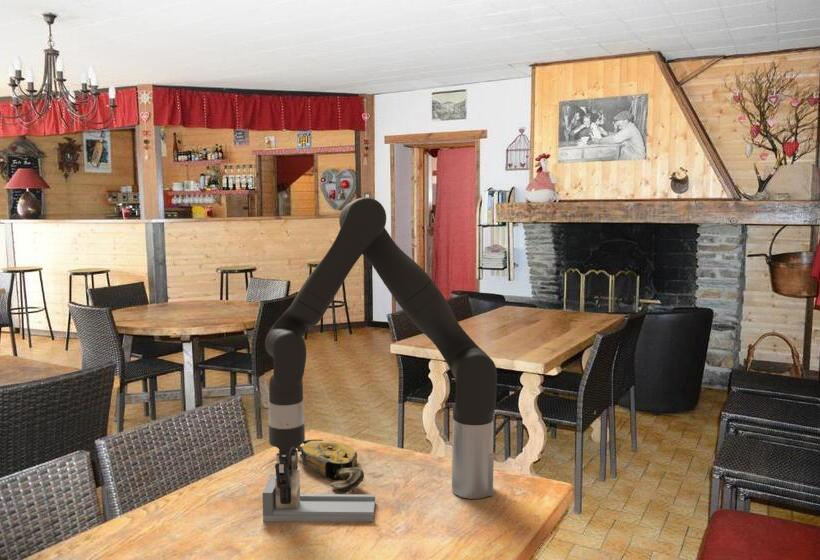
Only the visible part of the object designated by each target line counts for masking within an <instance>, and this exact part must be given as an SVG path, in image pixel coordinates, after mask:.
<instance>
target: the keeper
mask: <svg viewBox="0 0 820 560" xmlns="http://www.w3.org/2000/svg"><path fill="white" fill-rule="evenodd" d="M290 471H291V470H289V472H290ZM300 472H301V471H300V469H297V470H294V475H292V478H291V483H292V486H291V503H290V504H281V502H280V488H277V480H276V477H275V490H276V509H297V507H298V504H299V502H300V494H301V486H300V485H301V484H300V483H301V482H300V481H301V480H300V479H301V478H300V474H301V473H300ZM282 481H286V480H282Z"/></svg>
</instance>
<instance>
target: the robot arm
mask: <svg viewBox="0 0 820 560" xmlns="http://www.w3.org/2000/svg"><path fill="white" fill-rule="evenodd" d="M338 220H339V221H338V222H339V223H338V224H339V227H340V228H339V232H338V233H337V236H336V238H335V240H334V241H333V243H332V245H331V246H330V248H329V249H328V251H327V252H326V253H325V255H324V256H323V258H322V259H321V261H319V263H318V264H317V266H316V267H315V268H314V269H313V270H312V272H311V273H310V274H309V276H308V277H307V279H306V280H305V282H304V283H303V284H302V285H301V287H300V290H299V291H298V292H297V294H296V296H295V297H294V300H293V301H291V302H292V303H291V304H290V305H289V306H288V308H287V309H286V310H285V311H284V312H283V313H282V314H281V315H280V317H279V318H278V319H277V320H276V321H275V322H274V324H272V326H271V328H270V329H269V331H268V333H267V335H266V338H265V340H264V341H265V342H264V345H265V351H266V352H267V354H268V355H269V356H271V358H273V374H272V375H271V376H270V377H269V382H268V383H269V384H268V391H269V393H268V396H269V397H268V400H269V404H268V405H269V406H268V443H269V444H270V445H271V446H272V447H274V448H277V449H278V452H277V453H276V457H275V459H276V460H275V461H276V462H277V463H275V465H274V468H275V475H276V480H277V488H280V502H281V504H290V503H291V486H292V483H291V478H292V475H294V470H298V468H299V467H298V464H299V463H298V460H299V459H298V458H299V456H298V455H299V452H298V446H299V445H300V446H301V445H303V444H304V443H303V442H304V441H306V438H305V437H306V435H305V433H306V431H305V424H306V423H305V406H304V391H303V390H304V382H303V377H304V374H305V369H306V368H305V367H306V362H307V345H306V342H305V339H304V338H303V336H304V335H305V334H306V332H307V331H309V330H308V329H310V328H311V327H314V326H317V324H319V323H320V321H321V320H322V318H323V317H324V315H325V314H326V312H327V310H328V309H329V307H330V305H331V303H332V302H333V300H334V299H335V297H336V295H338V294H337V293H338V292H339V290H340V288H341V287H342V286H343V283H344V282H345V279H346V278H347V276H348V275H349V273H350V272H351V270H352V269H353V268H354V266H355V264H356V263H357V262H358V260H359V259H360V257H361V256H362V255H363V257H364V258H365V259H366V260H367V261H368V262H369V263H370V265H371V266H372V268H373V269H374V270H375V272H376V274H378V276H379V277H380V279H381V280H382V282H383V285H384V286H385V287H386V288H387V290H388V292H390V294H391V296H393V298H394V300H395V301H396V303H397V304H398V305H399V307H400V308H401V309H402V311H403V312H404V314H406V316H407V317H408V318H409V319H410V320H411V322H412V323H413V324H414V325H415V326H416V328H418V330H419V331H421V333H423V334H424V335H425V336H426V337H427V338H428V339H429V340H430V341H431V342H432V343H433V344H434V345H435V347H436V348H437V349H438V351H439V353H440V354H441V356H442V357H443V360H444V361H445V363H446V364H447V366H448V368H449V369H450V371H451V373H452V375H453V377H454V379H455V401H454V402H455V403H454V405H453V407H452V447H451V449H452V450H451V451H452V455H451V457H452V461H451V490H452V491H453V492H452V491H451V492H452V493H453V494H454V495H456V496H457V495H458V497H459V498H464V499H469V500H470V499H471V500H472V499H473V500H474V499H475V500H478V499H484V498H487V497H493V496H494V466H495V465H494V463H495V462H494V460H495V456H494V453H493V448H494V445H493V444H494V414H495V413H494V412H495V410H496V405H497V388H498V387H497V386H498V373H497V367H496V366H497V365H496V364H495V362H494V360H493V359H492V358H491V357H490V356H489V355H488V354H487V352H485V351H484V350H483V349H482V348H481V347H480V346H479V345H478V344H477V343H475V341H474V340H473V339H472V338H471V337H470V335H469V334H467V332H466V331H465V330H464V329H463V328H462V326H461V325H460V324H459V321H458V320H457V318H456V316H455V314H454V312H453V310H452V308H451V306H450V304H449V303H448V300H447V299H446V298H445V295H443V293H442V292H441V290H440V289H439V287H438V286H437V285H436V283H435V282H434V281H433V279H432V278H431V277H430V275H429V274H428V273H427V272H426V271H425V270H424V268H423V267H421V266H420V264H419V263H417V262H416V261H415V260H413V259H412V258H411V257H410V256H409V255H407V253H405V252H404V251H403V250H402V249H401V248H400V247H399V245H397V244H396V242H395V241H394V240H393V238H392V236H391V235H390V234H389V232H388V230H387V229H386V224H387V212H386V209H385V208H384V206H383V204H382V203H381V202H380V201H379V200H377V199H375V198H372V197H359V198H356V199H355V200H352V201H351V202H349V203H347V204H346V205H345V206H344V207H343V208H342V210H340V214H339V219H338ZM289 470H291V471H290V472H289ZM282 480H286V481H282Z"/></svg>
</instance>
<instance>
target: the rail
mask: <svg viewBox="0 0 820 560" xmlns="http://www.w3.org/2000/svg"><path fill="white" fill-rule="evenodd" d="M275 477H276V474H273V475H272V474H271V475H270V477H269V480H268V481H267V483H266V484H265V487H264V489H263V491H262V522H311V523H312V522H313V523H314V522H315V523H317V522H319V523H320V522H322V523H323V522H325V523H327V522H329V523H330V522H334V523H337V522H340V523H342V522H343V523H344V522H345V523H347V522H349V523H350V522H351V523H373V522H374V517H375V516H374V515H375V510H376V509H375V507H376V494H344V493H342V494H341V493H339V494H338V493H337V494H331V493H329V494H326V493H325V494H322V493H321V494H319V493H318V494H315V493H309V494H308V493H307V494H306V493H305V494H304V493H300V502H299V504H298V507H297V509H276V490H275Z"/></svg>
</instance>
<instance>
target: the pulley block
mask: <svg viewBox="0 0 820 560" xmlns="http://www.w3.org/2000/svg"><path fill="white" fill-rule="evenodd" d="M303 444H304V445H302V446H301V445H299V446H298V453H299V452H300V454H299V456H300V460H301V461H302V462H301V463H302V464H304V465H305V466H307V467H309V468H310V469H311V470H314V471H316V472H317V473H319V474H321V475H322V476H324V478H325V477H326V478H327V479H329V480H331V481H333V482H331V485H330V486H331V488H333V489H334V490H335V491H336V492H338V493H339V494H341V493H342V494H344V493H346V494H347V493H350V492H353V493H354V491H355V489H356V488H357V487H358V486H359V485H360V484H361V483H362V482H363V481H364V478H365V473H364V471H363V470H362V468H359V467H355V466H356V465H357V463H358V460H357V459H358V452H357V451H356V450H355V449H354V448H353V447H351V446H350V445H348V444H346V443H344V442H341V441H337V440H323V439H307V440H306V439H305V441H304V442H303ZM343 480H344V481H343Z"/></svg>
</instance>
